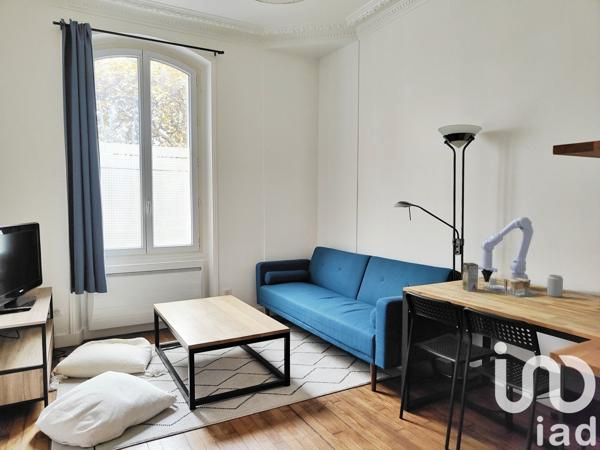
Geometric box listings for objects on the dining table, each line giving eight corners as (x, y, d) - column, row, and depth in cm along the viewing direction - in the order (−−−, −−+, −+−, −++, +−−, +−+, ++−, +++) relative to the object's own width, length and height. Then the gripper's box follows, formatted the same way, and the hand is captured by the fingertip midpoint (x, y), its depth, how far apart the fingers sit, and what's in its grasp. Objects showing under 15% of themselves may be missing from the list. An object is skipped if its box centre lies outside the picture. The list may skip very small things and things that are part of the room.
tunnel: (519, 289, 254) (520, 277, 253) (530, 291, 247) (530, 279, 247) (503, 291, 249) (504, 279, 249) (513, 293, 242) (514, 281, 242)
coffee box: (461, 288, 263) (462, 262, 262) (472, 288, 263) (472, 262, 262) (467, 291, 254) (467, 264, 253) (478, 291, 254) (478, 264, 253)
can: (561, 295, 243) (562, 274, 242) (563, 298, 236) (564, 276, 235) (546, 294, 246) (547, 273, 245) (547, 297, 239) (548, 275, 239)
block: (516, 288, 251) (516, 281, 251) (523, 290, 247) (523, 282, 246) (511, 289, 249) (511, 281, 249) (517, 290, 245) (517, 283, 245)
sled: (495, 285, 266) (495, 279, 266) (524, 292, 246) (525, 285, 246) (489, 285, 264) (489, 279, 264) (518, 292, 244) (518, 285, 244)
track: (500, 286, 268) (500, 283, 268) (537, 295, 243) (537, 291, 243) (482, 288, 263) (482, 284, 263) (519, 297, 238) (519, 292, 238)
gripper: (473, 259, 274) (473, 280, 275) (491, 262, 260) (490, 284, 261) (482, 258, 277) (481, 279, 277) (500, 261, 263) (499, 283, 264)
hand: (486, 281), depth 269 cm, fingers closed
